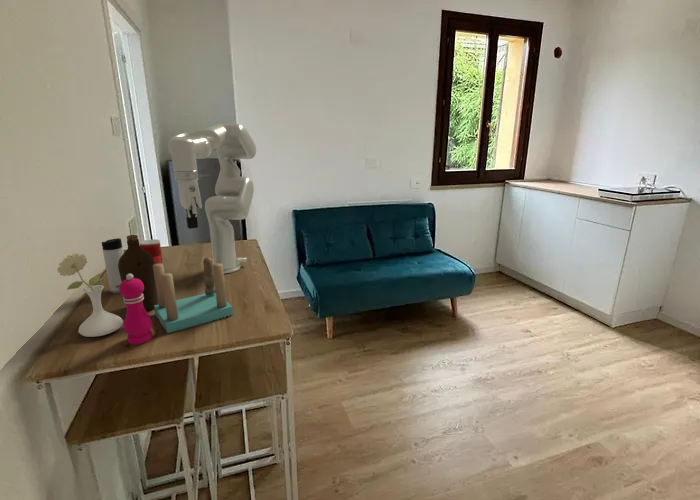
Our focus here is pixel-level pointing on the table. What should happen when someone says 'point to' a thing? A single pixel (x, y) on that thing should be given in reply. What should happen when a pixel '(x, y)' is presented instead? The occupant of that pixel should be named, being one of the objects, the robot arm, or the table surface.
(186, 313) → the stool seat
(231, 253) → the robot arm
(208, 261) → the hinged leg
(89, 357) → the table surface
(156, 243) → the canned food
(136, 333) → the pepper mill
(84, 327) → the flower in vase
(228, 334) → the table surface
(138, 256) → the olive oil
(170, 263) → the table surface
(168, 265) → the table surface
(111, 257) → the travel mug
